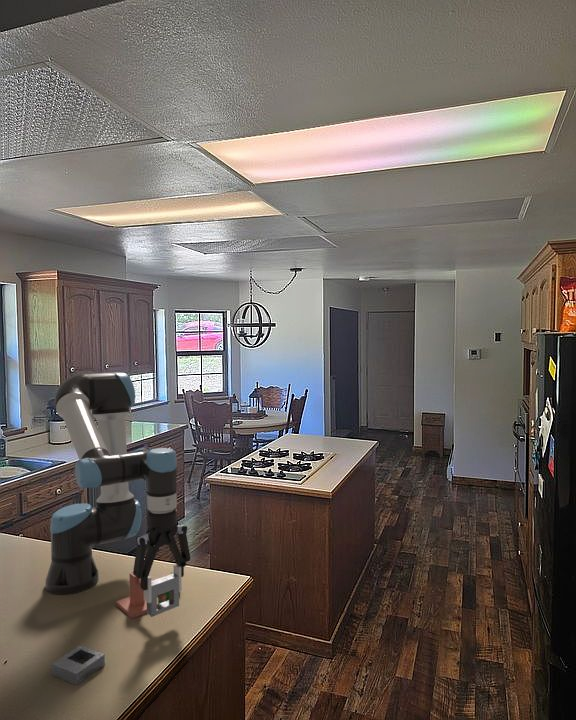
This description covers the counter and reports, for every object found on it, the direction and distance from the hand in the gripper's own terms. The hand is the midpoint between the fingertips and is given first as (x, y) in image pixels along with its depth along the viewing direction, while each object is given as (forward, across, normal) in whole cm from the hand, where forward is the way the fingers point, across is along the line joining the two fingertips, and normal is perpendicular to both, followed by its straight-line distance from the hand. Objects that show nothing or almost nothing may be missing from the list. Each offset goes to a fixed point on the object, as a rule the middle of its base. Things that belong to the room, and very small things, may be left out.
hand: (162, 595), depth 135 cm
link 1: (+8, -23, -3) cm, 25 cm away
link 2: (+4, 0, 0) cm, 4 cm away
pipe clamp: (+9, +10, +13) cm, 19 cm away
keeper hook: (+9, 0, +9) cm, 12 cm away
